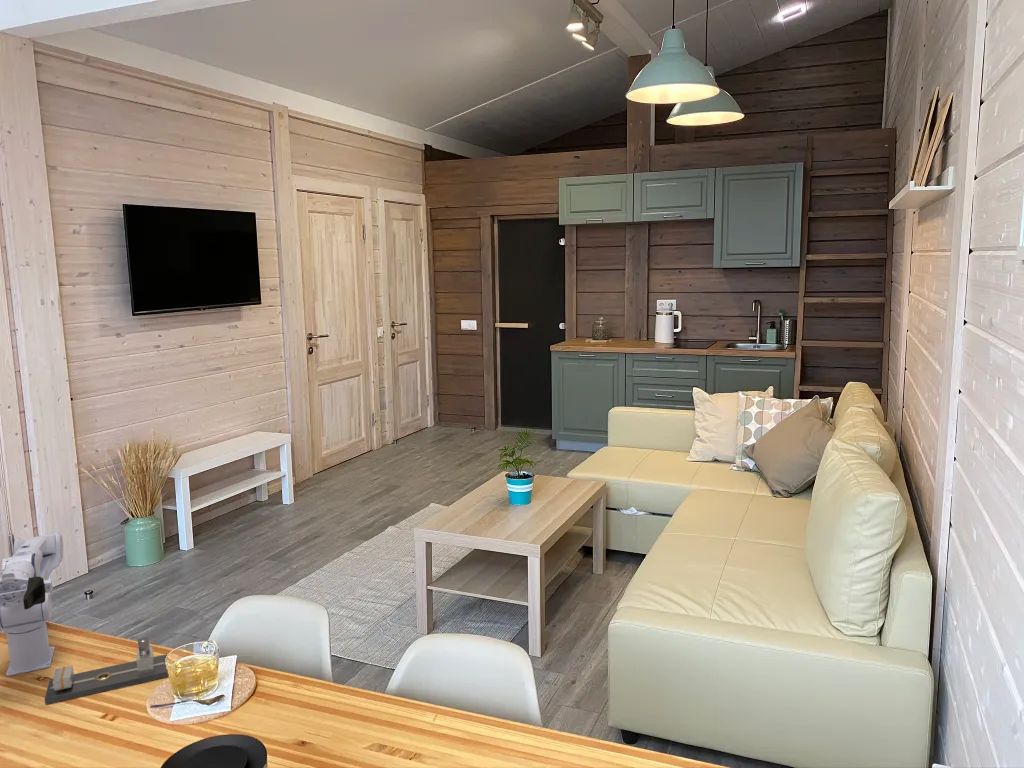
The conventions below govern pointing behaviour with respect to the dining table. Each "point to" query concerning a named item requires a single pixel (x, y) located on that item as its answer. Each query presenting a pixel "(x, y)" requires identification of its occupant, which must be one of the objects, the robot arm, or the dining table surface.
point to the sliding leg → (63, 678)
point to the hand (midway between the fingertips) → (2, 608)
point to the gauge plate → (113, 676)
